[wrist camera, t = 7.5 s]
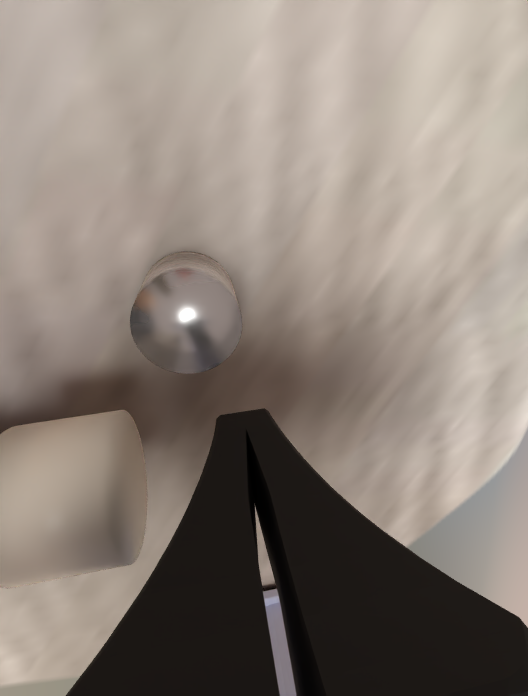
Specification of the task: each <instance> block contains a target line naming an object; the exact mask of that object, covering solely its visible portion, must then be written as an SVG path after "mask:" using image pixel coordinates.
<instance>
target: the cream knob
mask: <svg viewBox="0 0 528 696" xmlns="http://www.w3.org/2000/svg"><path fill="white" fill-rule="evenodd" d="M146 518H147V477H146V467H145V459H144V453H143V448H142V443H141V439H140V435H139V432H138V429H137V426H136V424H135V422H134V420H133V418H132V416H131V415H130V414H129V413H128V412H127V411H126V410H117V411H110V412H104V413H97V414H91V415H84V416H77V417H71V418H64V419H58V420H51V421H44V422H38V423H31V424H25V425H18V426H13V427H11V428H9V429H7V430H5V431H4V432H3V433H1V434H0V587H2V588H14V587H19V586H25V585H30V584H35V583H40V582H45V581H50V580H55V579H60V578H65V577H70V576H75V575H80V574H85V573H90V572H96V571H101V570H106V569H111V568H116V567H121V566H126V565H131V564H132V563H134V562H135V560H136V559H137V557H138V555H139V553H140V550H141V547H142V544H143V539H144V534H145V528H146Z"/></svg>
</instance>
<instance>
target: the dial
mask: <svg viewBox="0 0 528 696" xmlns="http://www.w3.org/2000/svg"><path fill="white" fill-rule="evenodd" d="M130 327H131V332H132V336H133V339H134V341H135V343H136V345H137V347H138V348H139V350H140V351H141V352H142V354H143V355H144V356H145V357H146V358H147V359H149V360H150V361H151V362H152V363H154V364H155V365H157V366H159V367H161V368H163V369H166V370H168V371H172V372H176V373H187V374H191V373H199V372H203V371H206V370H209V369H212V368H214V367H216V366H218V365H219V364H221V363H222V362H223V361H225V360H226V359H227V358H228V357H229V356H230V355H231V354H232V352H233V351H234V350H235V348H236V346H237V344H238V342H239V339H240V336H241V332H242V316H241V312H240V308H239V305H238V301H237V298H236V294H235V291H234V288H233V284H232V282H231V279H230V277H229V275H228V274H227V272H226V271H225V269H224V268H223V267H222V266H221V265H220V264H219V263H218V262H216V261H215V260H213V259H212V258H210V257H208V256H206V255H203V254H200V253H196V252H178V253H174V254H171V255H168V256H166V257H164V258H162V259H161V260H159V261H158V262H157V263H156V264H155V265H154V266H153V267H152V268H151V269H150V271H149V272H148V274H147V276H146V278H145V280H144V283H143V285H142V287H141V289H140V291H139V294H138V296H137V298H136V300H135V302H134V305H133V307H132V311H131V317H130Z"/></svg>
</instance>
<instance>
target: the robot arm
mask: <svg viewBox="0 0 528 696" xmlns="http://www.w3.org/2000/svg"><path fill="white" fill-rule="evenodd" d="M255 507H256V510H257V514H258V518H259V522H260V526H261V530H262V533H263V537H264V541H265V545H266V549H267V552H268V556H269V560H270V564H271V568H272V571H273V575H274V579H275V583H276V587H277V589H273V590H268V591H263V589H262V583H261V577H260V570H259V564H258V549H257V533H256V518H255ZM66 696H528V628H527V626H526V625H525V624H524V623H523V622H522V621H521V619H520V618H519V617H517V616H516V615H514V614H512V613H510V612H509V611H507V610H505V609H504V608H502V607H500V606H498V605H497V604H495V603H493V602H491V601H490V600H488V599H486V598H485V597H483V596H481V595H479V594H478V593H476V592H474V591H472V590H471V589H469V588H467V587H465V586H464V585H462V584H460V583H459V582H457V581H455V580H454V579H452V578H451V577H449V576H448V575H446V574H445V573H443V572H441V571H440V570H438V569H437V568H435V567H434V566H432V565H431V564H429V563H428V562H426V561H425V560H423V559H422V558H420V557H419V556H417V555H416V554H415V553H413V552H412V551H410V550H409V549H408V548H406V547H405V546H403V545H402V544H401V543H399V542H398V541H397V540H395V539H394V538H392V537H391V536H390V535H388V534H387V533H385V532H384V531H383V530H381V529H380V528H379V527H377V526H376V525H375V524H374V523H372V522H371V521H370V520H369V519H367V518H366V517H365V516H364V515H363V514H361V513H360V512H359V511H358V510H356V509H355V508H354V507H353V506H352V505H351V504H350V503H348V502H347V501H346V500H345V499H344V498H343V497H342V496H341V495H339V494H338V493H337V492H336V491H335V490H334V489H333V488H332V487H331V486H330V485H329V484H328V483H327V482H326V481H325V480H324V479H323V478H322V477H321V476H320V475H319V474H318V473H317V472H316V471H315V470H314V469H313V468H312V467H311V466H310V465H309V464H308V462H307V461H306V460H305V459H304V458H303V457H302V456H301V454H300V453H299V452H298V451H297V450H296V449H295V447H294V446H293V445H292V444H291V443H290V441H289V440H288V439H287V438H286V436H285V435H284V434H283V432H282V431H281V430H280V428H279V427H278V425H277V424H276V423H275V421H274V420H273V418H272V416H271V415H270V413H269V411H267V410H266V409H265V408H264V409H258V410H251V411H245V412H238V413H232V414H225V415H220V416H219V417H218V418H217V419H216V428H215V433H214V437H213V441H212V445H211V448H210V452H209V455H208V457H207V460H206V463H205V466H204V469H203V472H202V475H201V477H200V480H199V482H198V484H197V487H196V489H195V491H194V494H193V496H192V499H191V501H190V503H189V505H188V508H187V510H186V512H185V514H184V516H183V518H182V520H181V522H180V524H179V526H178V528H177V530H176V532H175V534H174V536H173V537H172V539H171V541H170V543H169V545H168V547H167V548H166V550H165V552H164V554H163V555H162V557H161V559H160V560H159V562H158V564H157V566H156V567H155V569H154V571H153V572H152V574H151V576H150V577H149V579H148V581H147V582H146V584H145V585H144V587H143V589H142V590H141V592H140V593H139V595H138V596H137V598H136V599H135V601H134V602H133V604H132V605H131V607H130V608H129V610H128V611H127V612H126V614H125V615H124V617H123V618H122V620H121V621H120V623H119V624H118V626H117V627H116V629H115V630H114V631H113V633H112V634H111V636H110V637H109V639H108V640H107V642H106V643H105V644H104V646H103V647H102V649H101V650H100V651H99V653H98V654H97V656H96V657H95V658H94V660H93V661H92V662H91V663H90V665H89V666H88V667H87V669H86V670H85V671H84V673H83V674H82V675H81V676H80V678H79V679H78V680H77V682H76V683H75V684H74V686H73V687H72V688H71V690H70V691H69V692H68V693H67V695H66Z"/></svg>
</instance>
